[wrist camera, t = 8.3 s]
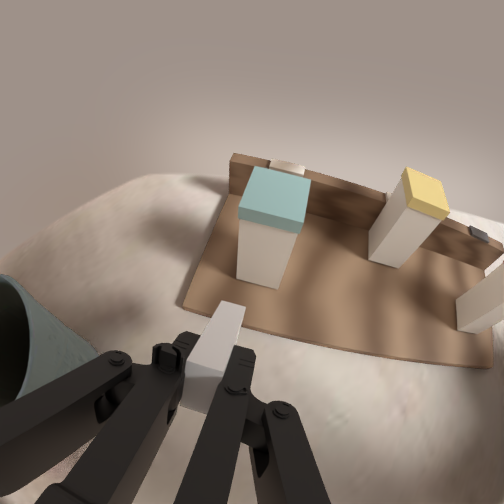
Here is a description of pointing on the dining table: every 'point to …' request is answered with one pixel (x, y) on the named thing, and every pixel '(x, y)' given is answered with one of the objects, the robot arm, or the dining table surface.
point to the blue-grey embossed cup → (33, 344)
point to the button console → (351, 278)
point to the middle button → (407, 218)
